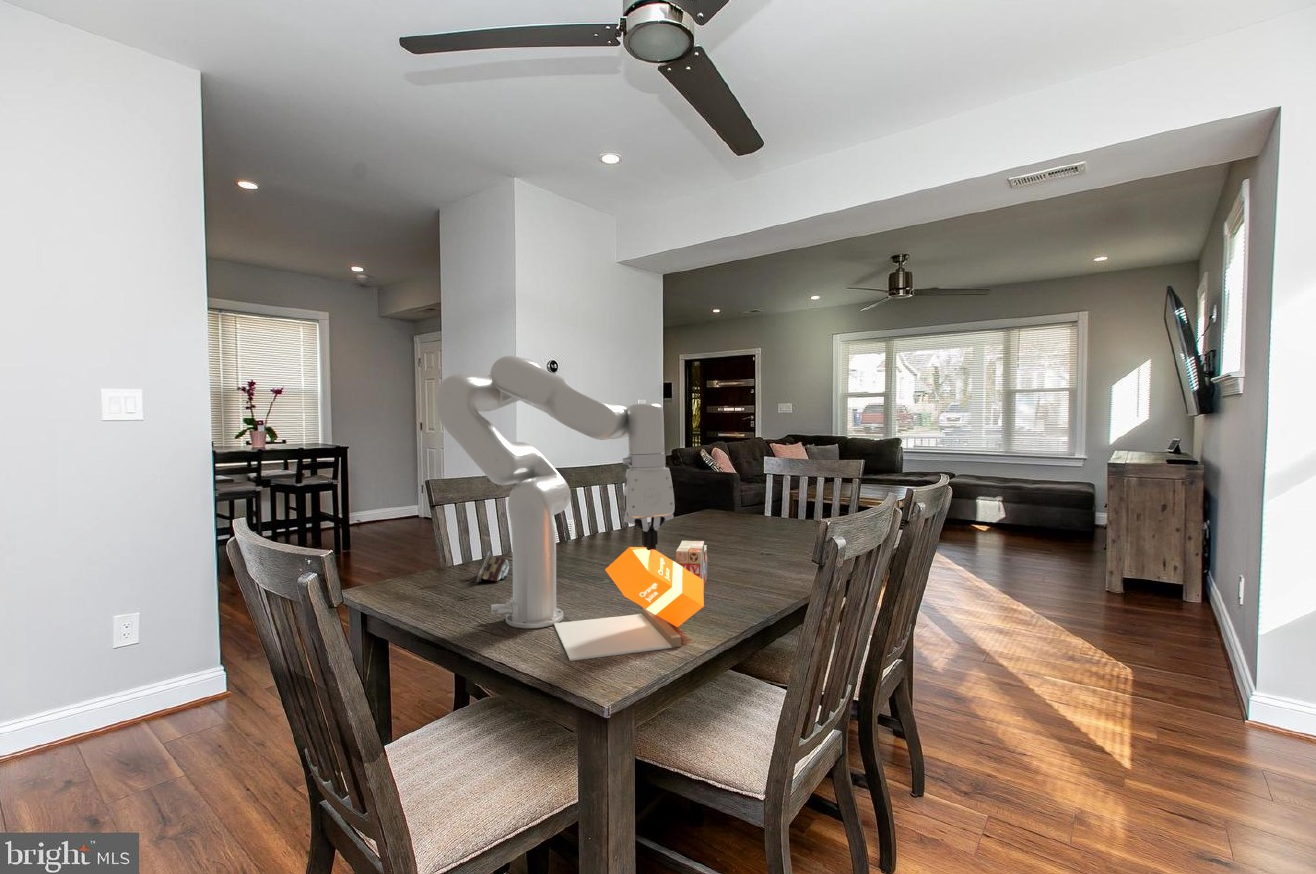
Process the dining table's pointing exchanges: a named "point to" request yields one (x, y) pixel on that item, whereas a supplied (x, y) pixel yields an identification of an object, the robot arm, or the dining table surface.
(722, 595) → the dining table surface
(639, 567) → the orange juice
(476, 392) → the robot arm
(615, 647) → the mat
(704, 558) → the stack of blocks
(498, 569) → the chocolate cake
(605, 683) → the dining table surface
